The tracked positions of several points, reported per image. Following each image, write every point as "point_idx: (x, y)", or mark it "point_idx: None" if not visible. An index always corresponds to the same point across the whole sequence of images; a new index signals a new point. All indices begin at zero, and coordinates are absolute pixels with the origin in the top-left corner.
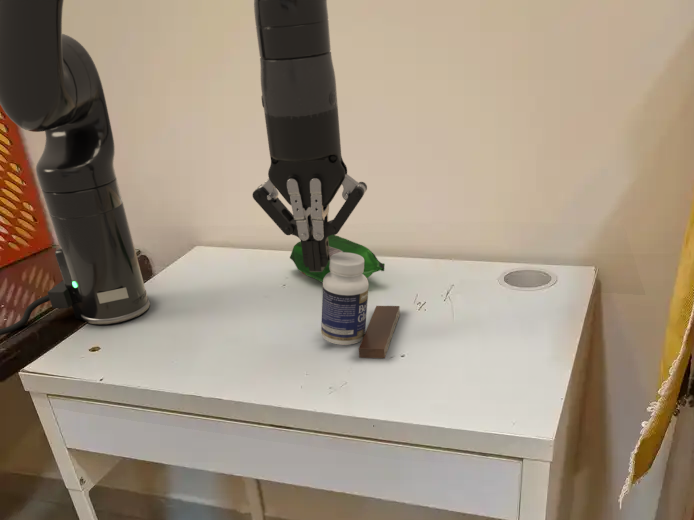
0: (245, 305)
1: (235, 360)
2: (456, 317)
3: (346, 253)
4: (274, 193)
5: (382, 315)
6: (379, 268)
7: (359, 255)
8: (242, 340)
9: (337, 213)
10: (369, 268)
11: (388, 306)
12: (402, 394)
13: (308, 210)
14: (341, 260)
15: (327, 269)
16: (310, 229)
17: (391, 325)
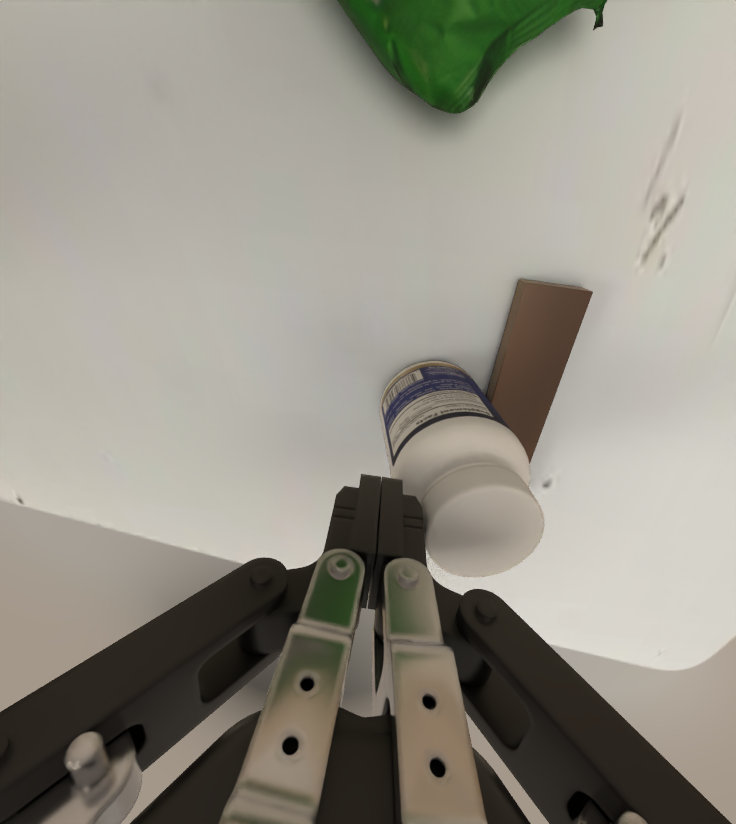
0: (120, 164)
1: (223, 465)
2: (730, 320)
3: (485, 497)
4: (119, 822)
5: (534, 350)
6: (592, 3)
7: (532, 503)
8: (203, 387)
9: (500, 757)
10: (547, 19)
11: (560, 292)
12: (524, 586)
13: (342, 692)
14: (465, 554)
15: (364, 33)
16: (356, 619)
17: (548, 407)
